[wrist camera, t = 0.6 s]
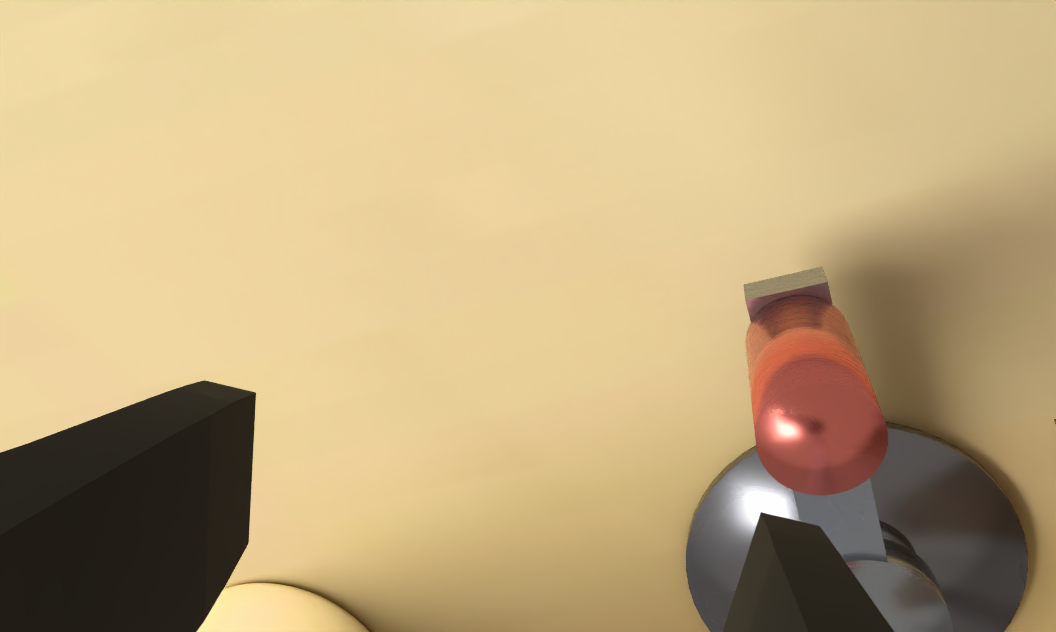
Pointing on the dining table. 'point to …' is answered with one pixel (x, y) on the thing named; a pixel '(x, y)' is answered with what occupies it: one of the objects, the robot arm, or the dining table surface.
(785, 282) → the crank
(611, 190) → the dining table surface
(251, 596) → the beer glass
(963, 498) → the crank hub
